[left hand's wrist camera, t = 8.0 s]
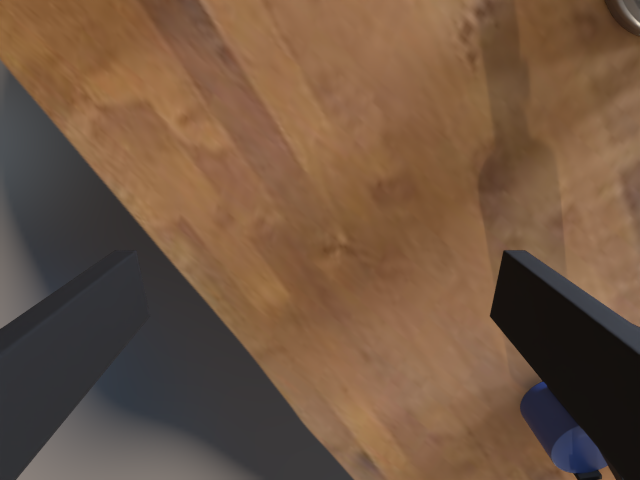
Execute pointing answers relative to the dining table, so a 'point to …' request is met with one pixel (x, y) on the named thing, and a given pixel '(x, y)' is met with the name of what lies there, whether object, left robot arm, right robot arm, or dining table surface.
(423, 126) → the dining table surface
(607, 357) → the left robot arm
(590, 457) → the cylinder
